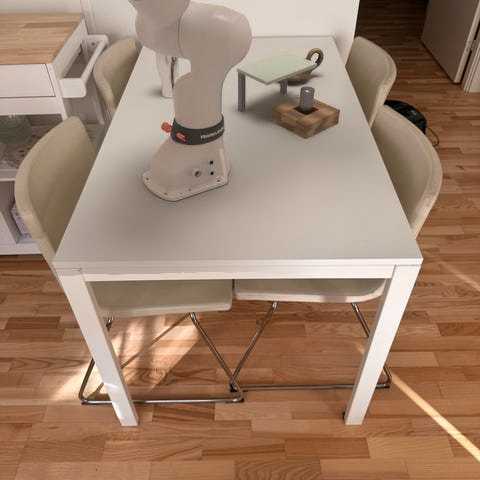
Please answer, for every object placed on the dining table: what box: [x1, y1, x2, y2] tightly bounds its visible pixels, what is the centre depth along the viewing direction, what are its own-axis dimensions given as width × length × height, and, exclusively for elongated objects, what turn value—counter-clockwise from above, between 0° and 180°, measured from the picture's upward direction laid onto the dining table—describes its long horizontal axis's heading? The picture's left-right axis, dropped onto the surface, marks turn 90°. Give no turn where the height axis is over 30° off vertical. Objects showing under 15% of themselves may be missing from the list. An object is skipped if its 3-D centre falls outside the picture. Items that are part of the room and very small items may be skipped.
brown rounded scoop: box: [287, 47, 325, 82], centre depth 155 cm, size 14×18×10 cm
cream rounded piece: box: [154, 51, 180, 99], centre depth 144 cm, size 7×7×15 cm
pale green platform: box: [236, 51, 318, 113], centre depth 138 cm, size 20×13×13 cm, turn 131°
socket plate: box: [270, 96, 341, 139], centre depth 134 cm, size 14×14×4 cm
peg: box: [298, 85, 316, 115], centre depth 132 cm, size 4×4×10 cm
